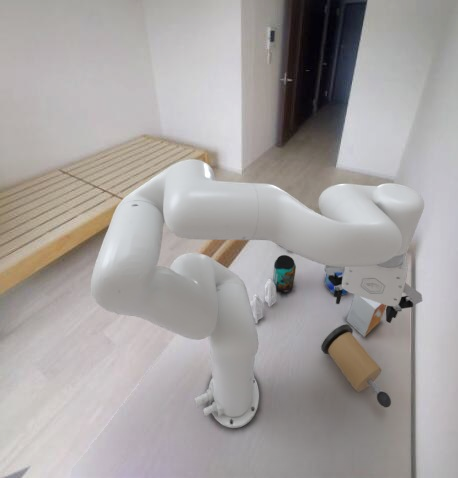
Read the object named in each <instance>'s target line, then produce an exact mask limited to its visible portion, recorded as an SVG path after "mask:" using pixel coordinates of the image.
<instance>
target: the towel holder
mask: <svg viewBox="0 0 458 478" xmlns="http://www.w3.org/2000/svg"><path fill="white" fill-rule="evenodd" d="M320 349H321V351H322V352H323V354H325V355H329V356H330V357H331V359H332V360H333V362H334V363H335V364H336V365H337V367H338V368H339V370H340V371H341V372H342V374H343V375H344V376H345V378H346V379H347V381H348V382H349V383H350V385H351V386H352V388H353V389H354V390H355V391H356V393H361V392H362V391H364V390H366V389H368V388H369V387H370V388H371V389H372V390H373V392H374V393H375V394H376V401H377V402H378V404H379V405H381V407H383V408H389V407H390V406H391V404H392V400H391V396H390V395H389V394H388V393H387V392H386V391H383V390H381V389H380V388H379V387H378V386H377V384H376V383H375V381H376V380H377V379H378V378H379V376H380V375H381V373H382V371H383V370H382V368H381V367H380V366H379V364H378V363H377V362H376V361H375V359H373V358H372V356H371V355H370V354H369V353H368V352H367V350H366V349H365V348H364V347H363V346H362V344H361V343H360V342H359V341H358V339H357V338H356V337H355V336H354V335H353V328H352V327H351V325H349V324H348V323H347V324H342V325H340V326H338V327H337V328H335V329H333V330H332V331H331V332H330V333H329V334H328V335H327V336H326V337H325V338H324V340H323V341H322V343H321V346H320Z"/></svg>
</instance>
